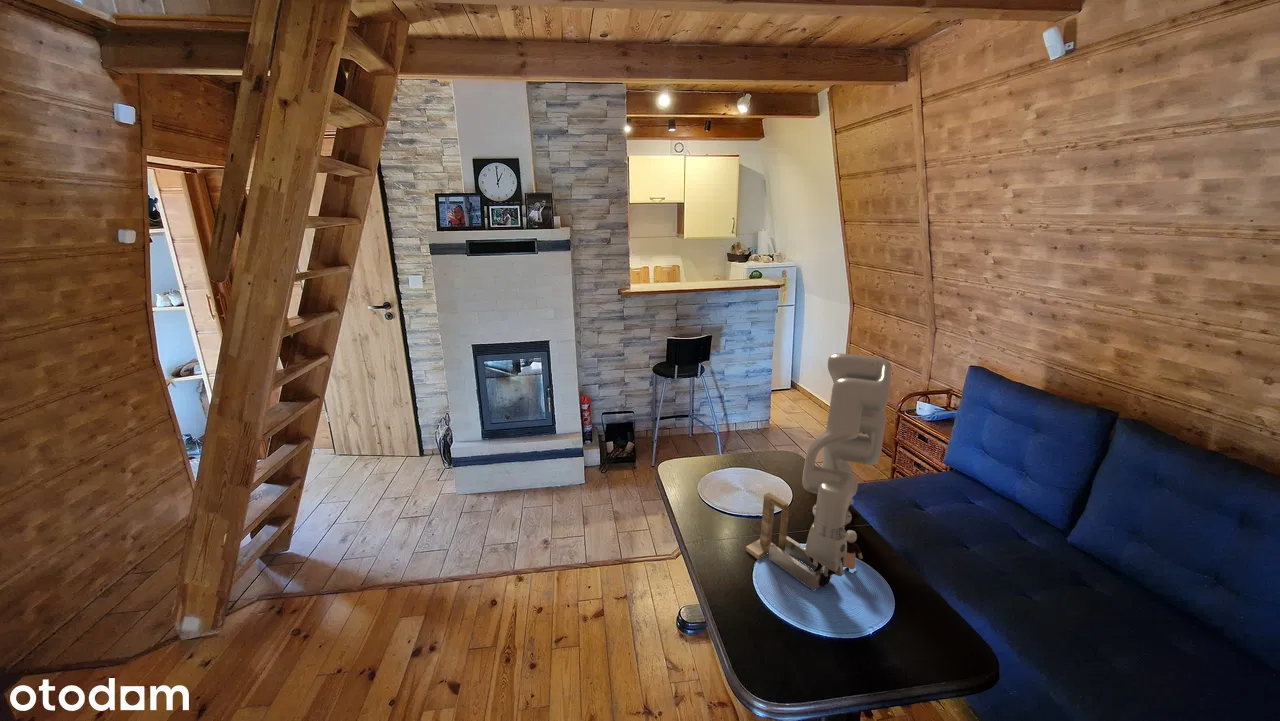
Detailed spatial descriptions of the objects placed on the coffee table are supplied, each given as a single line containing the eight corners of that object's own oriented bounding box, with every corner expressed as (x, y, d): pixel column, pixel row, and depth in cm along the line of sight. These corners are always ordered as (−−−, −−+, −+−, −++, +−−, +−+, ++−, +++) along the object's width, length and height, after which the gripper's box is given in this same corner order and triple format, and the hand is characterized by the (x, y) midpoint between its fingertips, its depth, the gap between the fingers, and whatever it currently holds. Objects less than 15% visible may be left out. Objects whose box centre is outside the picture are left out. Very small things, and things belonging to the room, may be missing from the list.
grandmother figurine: (859, 566, 146) (865, 530, 142) (860, 575, 142) (866, 538, 139) (831, 560, 148) (836, 524, 144) (831, 569, 145) (837, 532, 141)
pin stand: (763, 540, 157) (767, 489, 152) (787, 557, 150) (793, 503, 144) (745, 550, 153) (749, 497, 147) (769, 567, 145) (775, 513, 140)
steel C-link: (831, 578, 140) (833, 565, 139) (814, 590, 136) (815, 577, 134) (786, 548, 152) (787, 536, 151) (768, 558, 148) (769, 545, 147)
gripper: (863, 536, 129) (854, 593, 134) (812, 507, 141) (806, 561, 146) (846, 547, 125) (837, 606, 130) (795, 516, 137) (789, 572, 142)
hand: (821, 582), depth 138 cm, fingers closed on steel C-link, 1 cm apart
